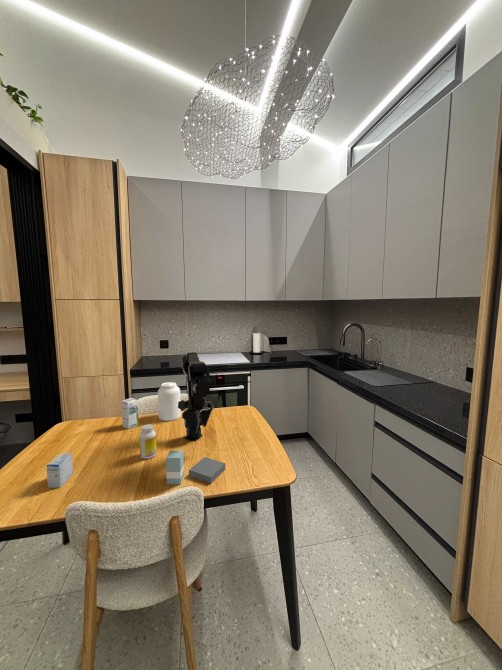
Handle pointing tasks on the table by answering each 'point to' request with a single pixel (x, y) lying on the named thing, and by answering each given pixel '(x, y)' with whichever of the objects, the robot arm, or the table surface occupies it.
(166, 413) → the white plastic jar
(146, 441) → the supplement bottle
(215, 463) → the podium
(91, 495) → the table surface
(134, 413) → the syrup box
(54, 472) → the medicine box
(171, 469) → the carton
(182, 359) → the robot arm
